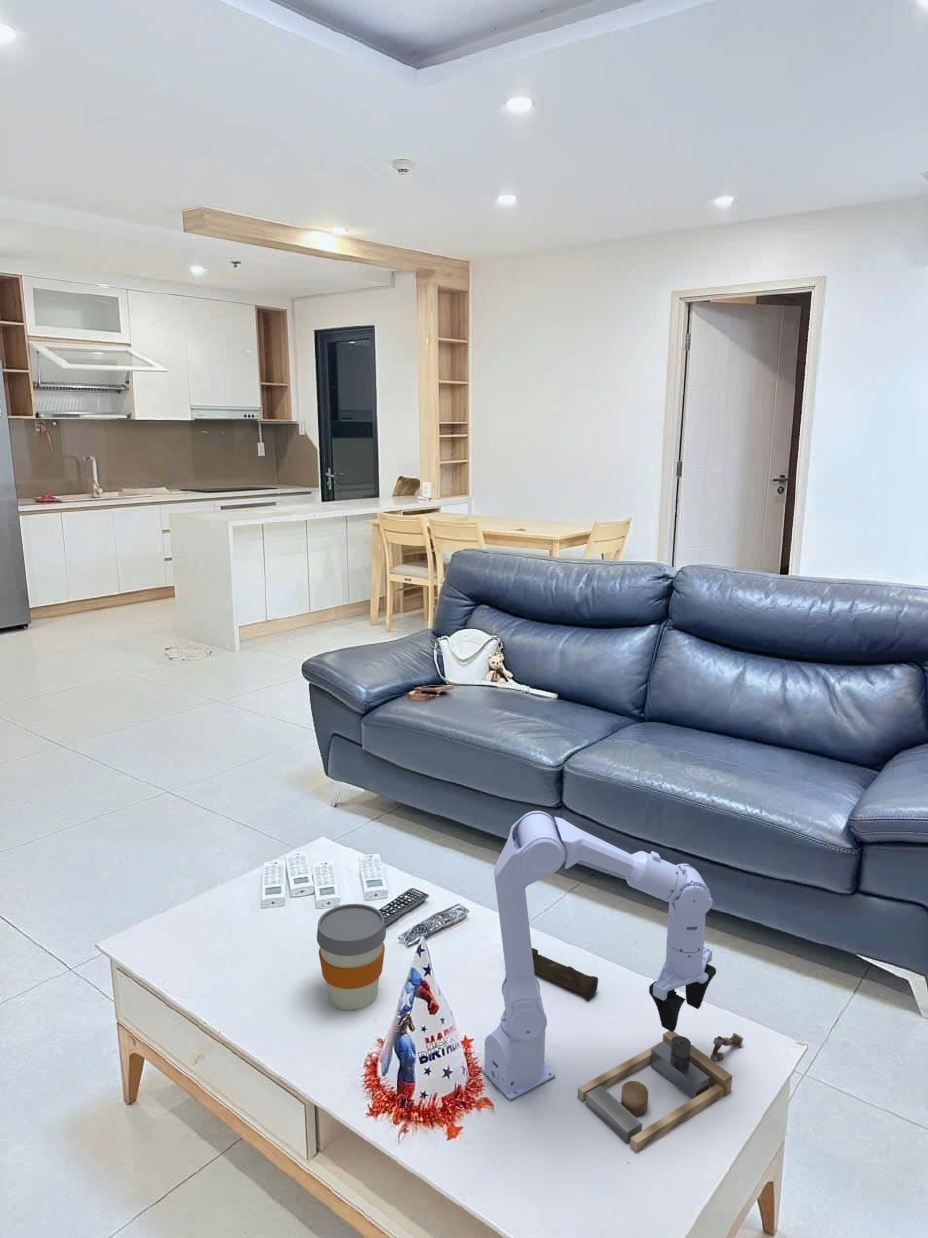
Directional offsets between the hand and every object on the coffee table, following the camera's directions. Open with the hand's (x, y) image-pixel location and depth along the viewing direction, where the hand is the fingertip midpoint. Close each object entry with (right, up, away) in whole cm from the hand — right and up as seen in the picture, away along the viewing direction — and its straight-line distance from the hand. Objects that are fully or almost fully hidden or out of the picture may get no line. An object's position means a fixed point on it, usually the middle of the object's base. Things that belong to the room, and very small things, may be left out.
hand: (681, 1016), depth 140 cm
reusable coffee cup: (-56, -5, +20) cm, 60 cm away
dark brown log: (-19, -5, +24) cm, 31 cm away
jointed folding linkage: (+9, -9, +5) cm, 14 cm away
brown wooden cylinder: (-9, -11, -6) cm, 16 cm away
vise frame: (-5, -11, -4) cm, 12 cm away
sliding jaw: (-1, -10, -1) cm, 10 cm away
